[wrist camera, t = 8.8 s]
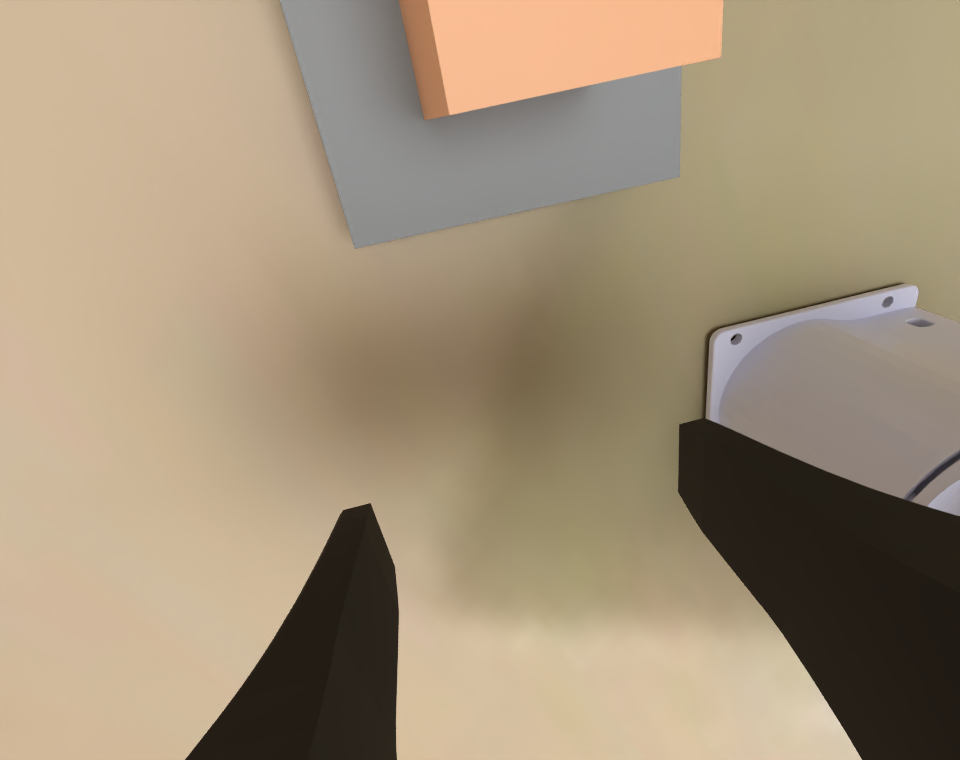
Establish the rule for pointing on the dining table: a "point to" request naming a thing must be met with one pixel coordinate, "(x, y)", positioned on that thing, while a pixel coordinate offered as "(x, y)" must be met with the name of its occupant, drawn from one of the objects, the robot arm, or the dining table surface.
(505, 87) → the terracotta block
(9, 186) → the dining table surface
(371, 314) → the dining table surface
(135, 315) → the dining table surface
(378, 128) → the slate base
